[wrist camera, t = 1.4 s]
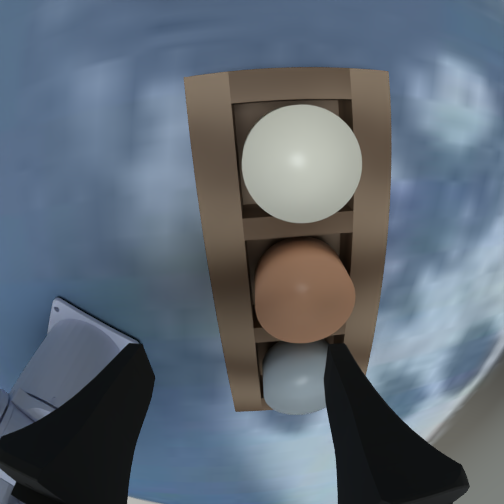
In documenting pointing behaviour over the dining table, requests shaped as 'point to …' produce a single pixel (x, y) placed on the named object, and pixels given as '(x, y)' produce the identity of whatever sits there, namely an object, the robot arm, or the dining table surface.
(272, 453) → the dining table surface
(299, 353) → the slate button
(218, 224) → the button board
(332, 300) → the terracotta button
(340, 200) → the cream button
